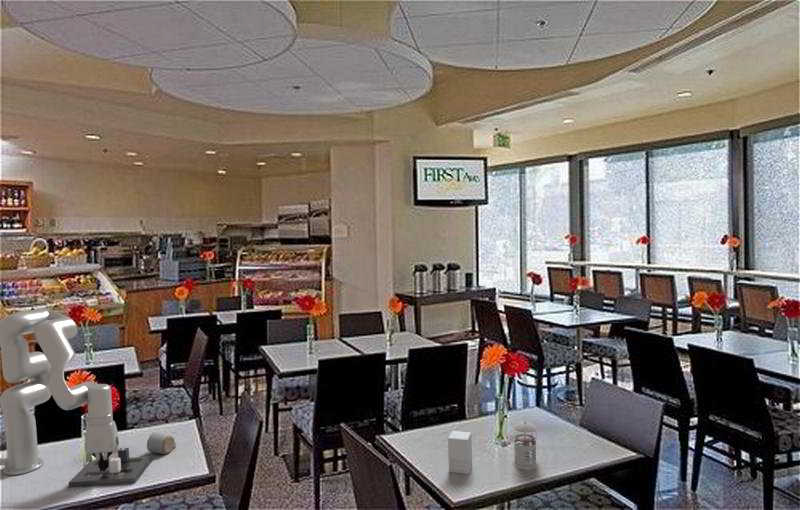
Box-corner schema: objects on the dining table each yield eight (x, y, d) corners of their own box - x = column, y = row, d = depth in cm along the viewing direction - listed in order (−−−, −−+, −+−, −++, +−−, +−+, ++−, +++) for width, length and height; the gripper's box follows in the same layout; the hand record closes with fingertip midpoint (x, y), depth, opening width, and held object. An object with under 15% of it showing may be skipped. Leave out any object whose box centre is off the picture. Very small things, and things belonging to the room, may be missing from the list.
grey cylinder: (163, 457, 219) (163, 437, 218) (146, 455, 221) (145, 436, 221) (181, 447, 229) (181, 428, 228) (165, 445, 231) (164, 426, 231)
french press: (506, 464, 205) (505, 397, 204) (523, 454, 214) (522, 389, 212) (530, 472, 199) (529, 403, 197) (546, 461, 207) (546, 394, 206)
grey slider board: (68, 488, 195) (68, 482, 195) (91, 465, 213) (90, 460, 213) (135, 483, 197) (134, 477, 197) (151, 461, 215) (151, 455, 215)
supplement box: (472, 465, 205) (472, 432, 204) (468, 474, 198) (467, 439, 197) (453, 463, 207) (452, 430, 206) (448, 472, 200) (447, 437, 199)
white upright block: (109, 473, 201) (109, 460, 201) (112, 470, 203) (111, 457, 203) (118, 472, 201) (117, 460, 201) (121, 469, 204) (120, 457, 203)
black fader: (118, 462, 210) (117, 450, 209) (120, 459, 212) (120, 447, 212) (126, 461, 210) (126, 449, 210) (129, 459, 212) (128, 447, 212)
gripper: (73, 424, 196) (77, 475, 197) (118, 422, 198) (121, 472, 199) (83, 417, 203) (86, 466, 205) (126, 414, 205) (129, 463, 206)
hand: (103, 469), depth 202 cm, fingers closed
